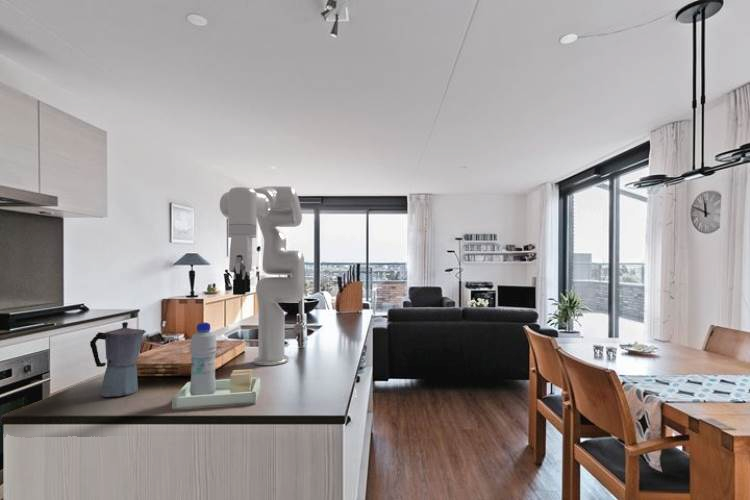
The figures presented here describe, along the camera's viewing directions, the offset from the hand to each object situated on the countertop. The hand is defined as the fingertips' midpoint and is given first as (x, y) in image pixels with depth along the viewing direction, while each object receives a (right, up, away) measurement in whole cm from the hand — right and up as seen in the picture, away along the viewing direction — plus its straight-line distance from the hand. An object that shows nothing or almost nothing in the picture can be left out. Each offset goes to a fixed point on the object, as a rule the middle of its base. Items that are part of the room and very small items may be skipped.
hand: (242, 293), depth 106 cm
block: (0, -28, -1) cm, 28 cm away
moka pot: (-36, -29, +2) cm, 46 cm away
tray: (-5, -28, -2) cm, 29 cm away
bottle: (-10, -28, -3) cm, 30 cm away
